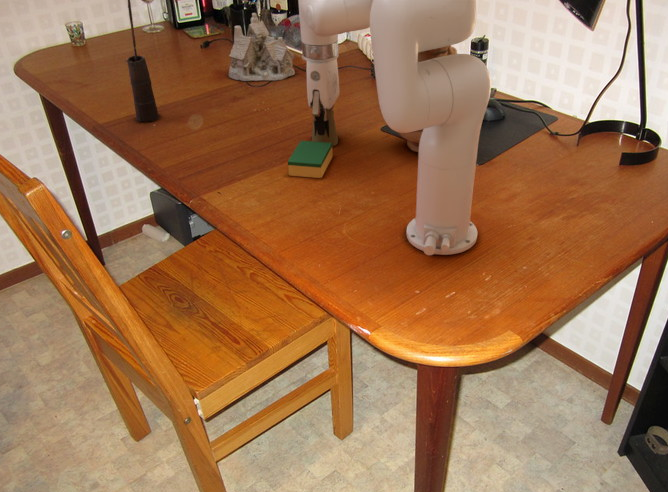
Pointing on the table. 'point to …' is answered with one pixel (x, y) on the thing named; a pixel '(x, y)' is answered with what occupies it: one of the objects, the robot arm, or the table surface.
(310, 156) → the sponge
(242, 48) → the ceramic cottage
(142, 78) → the butter churn
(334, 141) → the pawn
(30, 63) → the table surface
